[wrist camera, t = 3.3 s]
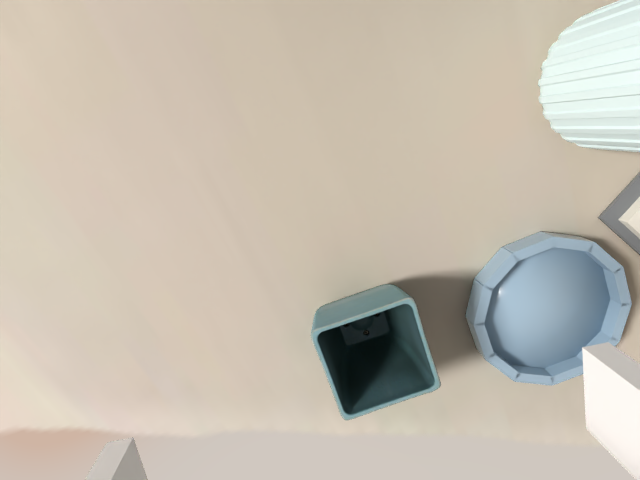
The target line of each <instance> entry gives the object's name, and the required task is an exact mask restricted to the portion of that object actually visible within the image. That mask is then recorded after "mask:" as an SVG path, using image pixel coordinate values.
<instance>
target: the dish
mask: <svg viewBox="0 0 640 480" xmlns="http://www.w3.org/2000/svg"><path fill="white" fill-rule="evenodd" d="M631 303H632V302H631V298H630V293H629V289H628V285H627V281H626V276H625V272H624V268H623V266H622V265H620V264H619V263H618V262H617V261H616V260H615V259H614V258H612V257H611V256H610V255H609V254H608V253H607V252H606V251H604V250H603V249H602V248H601V247H600V246H599V245H598V244H597V243H595V242H593V241H591V240H588V239H586V238H583V237H580V236H573V235H566V234H558V233H551V232H543V231H542V232H538V233H536V234H533V235H530V236H528V237H525V238H523V239H520V240H518V241H515V242H513V243H510V244H508V245H505V246H503V248H502V247H501V248H500V250H499V251H498V252H497V253H496V254H495V255H494V256H493V257H492V259H491V260H490V261H489V262H488V263H487V264H486V265H485V266H484V268H483V269H482V270H481V271H480V272H479V273H478V274H477V276H476V277H475V279H474V281H473V285H472V290H471V294H470V298H469V302H468V307H467V311H466V315H465V316H466V319H467V322H468V325H469V328H470V331H471V334H472V337H473V340H474V343H475V345H476V348H477V350H478V351H479V352H480V354H481V355H482V356H483V357H484V359H485V360H486V361H488V362H489V363H490V364H492V365H493V366H494V367H496V368H497V369H498V370H500V371H501V372H502V373H504V374H505V375H506V376H508V377H509V378H510V379H512V380H513V381H515V382H523V383H533V384H543V385H555V384H558V383H560V382H563V381H566V380H568V379H571V378H574V377H576V376H579V375H581V374H584V373H583V353H582V347H587V346H592V345H597V344H602V343H606V342H609V343H610V344H612V345H613V346H616V345H617V344H618V343H619V341H620V339H621V336H622V333H623V330H624V326H625V323H626V320H627V317H628V314H629V311H630V308H631V305H632V304H631Z"/></svg>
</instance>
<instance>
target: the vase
mask: <svg viewBox="0 0 640 480" xmlns="http://www.w3.org/2000/svg"><path fill="white" fill-rule="evenodd" d="M541 70H542V75H541V79H539V80H538V86H539V87H540V96H539V103H541V104H542V106H543V109H544V111H543V115H544V117H545V119H548V120H549V121H550V123H551V124H550V127H551V128H552V129H553V130H554V131H555V132H557V133H560V134H561V137H562V138H563V139H564V140H566V141H568V142H571V143H575V144H576V145H577V146H580V147H584V148H594V149H603V150H617V151H631V152H640V0H619V1H617V2H614V3H611V4H609V5H606V6H604V7H601V8H599V9H596V10H594V11H593V12H591V13H588V14H586V15H583V16H582V17H580V18H579V19H577V20H576V21H574V23H573V24H572V26H569V27H567V28H566V29H565V30H564V31H563V32H562V33H561V34H560V35H559V37H558V40H557V42H555V43H553V44H552V46H551V47H550V49H549V51H548V57H547V59H546V60H545V61H544V62H543V64H542V67H541Z"/></svg>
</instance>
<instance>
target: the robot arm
mask: <svg viewBox="0 0 640 480" xmlns="http://www.w3.org/2000/svg"><path fill="white" fill-rule="evenodd" d="M582 353H583V373H584V393H585V413H586V429H587V430H588V431H589V432H590V433H591V434H592V435H593V436H594V437H595V438H596V439H597V440H598V441H599V442H600V443H601V444H602V445H603V446H604V447H605V448H606V450H607V451H608V452H609V453H610V454H611V455H612V456H613V457H614V458H615V459H616V460H617V461H618V462H619V463H620V464H621V465H622V466H623V467H624V468H625V469H626V470H627V471H628V472H629V473H630V474H631V475H632V476H633V477H634V478H635V479H636V480H640V363H638V362H637V361H635V360H634V359H632V358H631V357H629V356H628V355H626V354H625V353H624V352H622V351H621V350H619V349H618V348H616V347H615V346H613V345H612V344H610V343H609V342H606V343H602V344H597V345H592V346H587V347H582ZM85 480H148V479H147V476H146V474H145V470H144V468H143V465H142V462H141V459H140V456H139V453H138V450H137V447H136V444H135V441H134V438H133V437H132V438H127V439H122V440H117V441H113V442H108V443H106V445H105V447H104V448H103V450H102V451H101V453H100V455H99V456H98V458H97V460H96V461H95V463H94V465H93V467H92V468H91V470H90V471H89V473H88V475H87V476H86V478H85Z"/></svg>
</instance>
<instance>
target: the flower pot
mask: <svg viewBox="0 0 640 480" xmlns="http://www.w3.org/2000/svg"><path fill="white" fill-rule="evenodd" d="M377 313H379V315H377V316H376V315H374V314H377ZM347 323H349V325H348V326H344V324H347ZM365 330H368V331H369V333H368V334H367V335H365V334H364V331H365ZM311 339H312V341H313V344H314V346H315V349H316V351H317V354H318V356H319V359H320V361H321V364H322V366H323V369H324V371H325V374H326V377H327V379H328V382H329V385H330V387H331V390H332V393H333V395H334V398H335V401H336V403H337V406H338V409H339V412H340V414H341V416H342V418H343V419H344V420H350V419H354V418H357V417H359V416H363V415H365V414H368V413H371V412H373V411H376V410H379V409H382V408H385V407H388V406H391V405H393V404H396V403H399V402H402V401H405V400H408V399H411V398H414V397H417V396H420V395H423V394H426V393H430V392H433V391H435V390H437V389H438V388H439V387H440V386H441V382H440V379H439V376H438V373H437V370H436V367H435V364H434V361H433V358H432V355H431V352H430V349H429V345H428V342H427V339H426V336H425V333H424V330H423V326H422V323H421V320H420V316H419V313H418V309H417V305H416V303H415V301H414V299H413V298H411V297H410V296H409V295H408V294H407V293H405V292H404V291H403V290H401V289H400V288H398V287H397V286H395V285H392V284H385V285H380V286H377V287H374V288H372V289H369V290H366V291H363V292H360V293H357V294H354V295H352V296H349V297H346V298H343V299H340V300H337V301H334V302H331V303H328V304H325V305H323V306H322V307H320V308H319V309H318V310H317V311H316V313H315V316H314V320H313V326H312V331H311Z"/></svg>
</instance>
